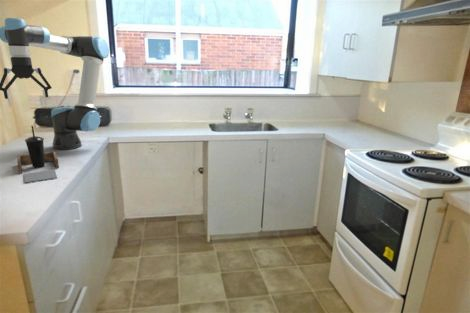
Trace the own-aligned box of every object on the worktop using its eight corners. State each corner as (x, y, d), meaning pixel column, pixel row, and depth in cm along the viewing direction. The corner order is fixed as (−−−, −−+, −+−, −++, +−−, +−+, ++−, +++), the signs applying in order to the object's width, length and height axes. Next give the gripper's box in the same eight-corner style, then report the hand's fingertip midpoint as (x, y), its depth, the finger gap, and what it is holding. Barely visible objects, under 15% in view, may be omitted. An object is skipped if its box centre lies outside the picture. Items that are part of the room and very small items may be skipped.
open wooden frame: (56, 159, 167) (54, 151, 166) (58, 168, 155) (57, 159, 154) (19, 164, 159) (17, 155, 158) (19, 173, 147) (17, 164, 145)
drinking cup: (51, 164, 160) (44, 124, 155) (42, 169, 153) (36, 127, 147) (35, 164, 160) (28, 124, 154) (26, 169, 153) (18, 127, 147)
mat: (54, 170, 152) (54, 169, 151) (57, 178, 142) (57, 177, 142) (24, 174, 145) (24, 173, 145) (24, 183, 136) (24, 182, 136)
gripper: (52, 57, 151) (58, 102, 157) (-15, 55, 138) (-5, 105, 144) (53, 57, 145) (60, 104, 151) (-16, 55, 132) (-6, 108, 138)
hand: (28, 105), depth 148 cm, fingers open, 13 cm apart
